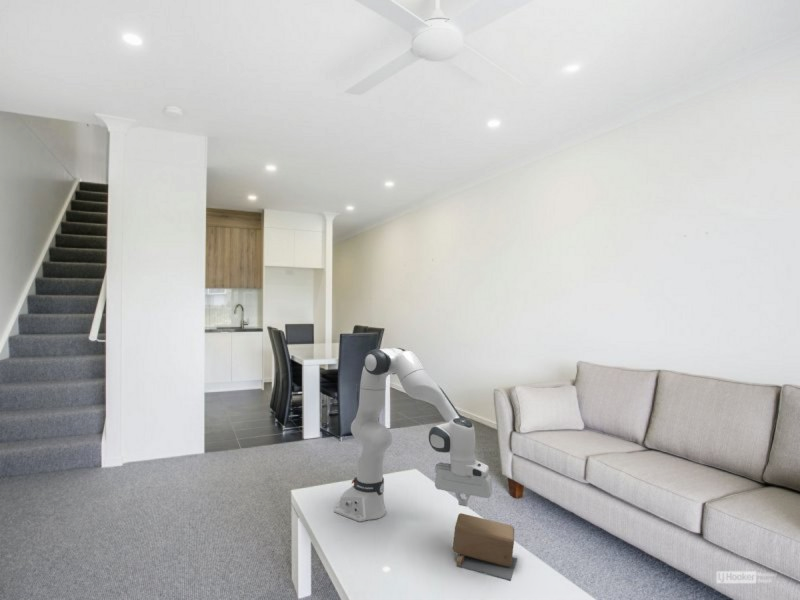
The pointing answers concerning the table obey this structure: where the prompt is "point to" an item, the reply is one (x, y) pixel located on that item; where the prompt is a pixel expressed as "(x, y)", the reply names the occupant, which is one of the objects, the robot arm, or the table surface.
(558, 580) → the table surface
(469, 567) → the mat
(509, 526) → the wooden block
